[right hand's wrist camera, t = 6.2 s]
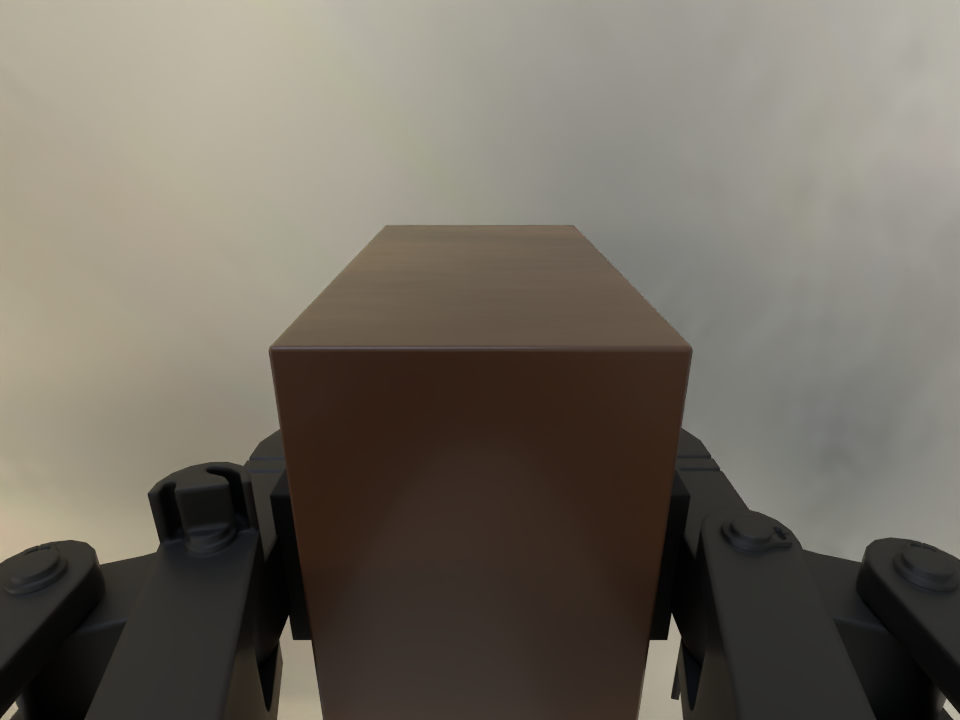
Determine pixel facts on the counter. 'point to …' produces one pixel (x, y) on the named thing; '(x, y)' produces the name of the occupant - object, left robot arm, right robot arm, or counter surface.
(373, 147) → the counter surface
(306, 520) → the walnut block
